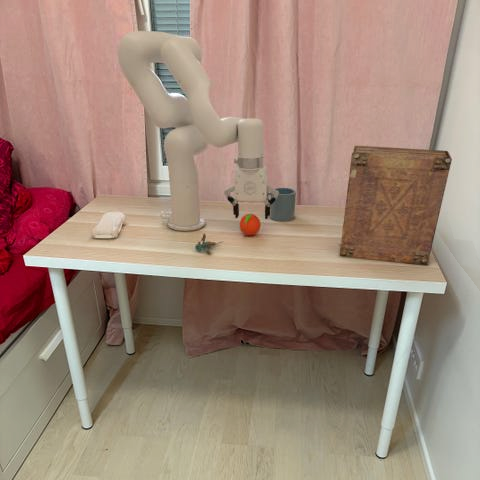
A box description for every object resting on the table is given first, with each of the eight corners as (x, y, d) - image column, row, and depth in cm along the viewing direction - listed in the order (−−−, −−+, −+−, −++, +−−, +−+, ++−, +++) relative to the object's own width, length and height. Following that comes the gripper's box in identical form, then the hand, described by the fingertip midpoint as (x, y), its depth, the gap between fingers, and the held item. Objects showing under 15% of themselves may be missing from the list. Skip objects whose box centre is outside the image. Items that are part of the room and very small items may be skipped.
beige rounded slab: (116, 239, 153) (114, 226, 151) (91, 239, 153) (89, 226, 151) (128, 221, 169) (126, 208, 166) (105, 220, 169) (104, 208, 167)
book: (338, 255, 143) (351, 151, 127) (341, 244, 150) (353, 145, 135) (427, 265, 137) (452, 157, 121) (426, 253, 144) (448, 150, 129)
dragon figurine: (200, 238, 151) (190, 237, 144) (220, 231, 149) (212, 230, 142) (205, 258, 152) (196, 258, 144) (226, 251, 149) (218, 251, 142)
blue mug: (298, 216, 173) (300, 190, 168) (285, 222, 168) (286, 196, 163) (272, 209, 180) (273, 184, 175) (258, 215, 174) (258, 189, 169)
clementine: (255, 241, 153) (255, 219, 149) (235, 238, 155) (235, 217, 151) (263, 232, 159) (263, 211, 156) (243, 230, 161) (243, 209, 158)
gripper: (220, 165, 143) (223, 220, 152) (278, 165, 140) (277, 221, 149) (225, 159, 149) (227, 213, 158) (280, 160, 147) (279, 214, 155)
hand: (251, 217), depth 154 cm, fingers open, 9 cm apart
